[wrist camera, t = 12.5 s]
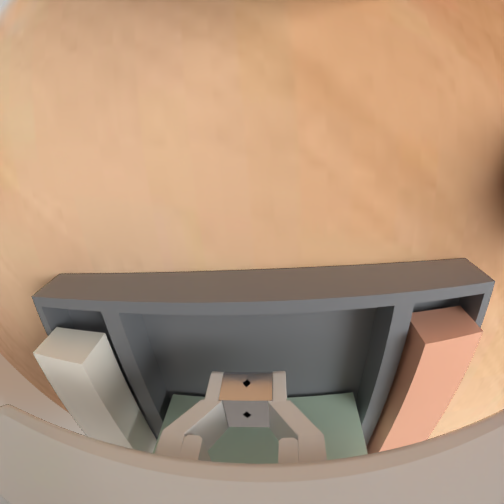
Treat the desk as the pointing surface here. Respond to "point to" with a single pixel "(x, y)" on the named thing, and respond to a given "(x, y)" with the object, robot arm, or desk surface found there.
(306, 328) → the gray compartment tray
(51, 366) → the white rectangular block
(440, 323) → the salmon rectangular block
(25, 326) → the desk surface
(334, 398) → the pale green block
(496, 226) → the desk surface
